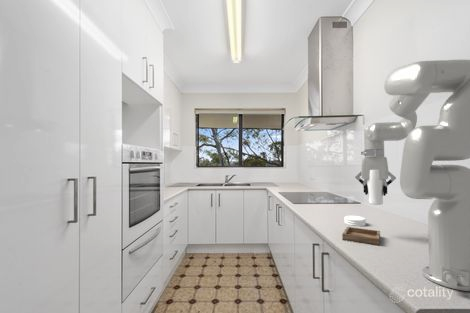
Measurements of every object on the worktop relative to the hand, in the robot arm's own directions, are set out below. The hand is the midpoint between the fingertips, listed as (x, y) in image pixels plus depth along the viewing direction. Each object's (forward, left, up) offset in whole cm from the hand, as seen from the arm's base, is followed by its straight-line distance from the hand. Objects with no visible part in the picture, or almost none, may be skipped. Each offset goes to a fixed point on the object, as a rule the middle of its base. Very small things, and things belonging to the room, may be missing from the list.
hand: (375, 194), depth 106 cm
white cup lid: (+18, +10, -19) cm, 28 cm away
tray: (-7, +5, -18) cm, 20 cm away
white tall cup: (0, 0, -4) cm, 4 cm away
